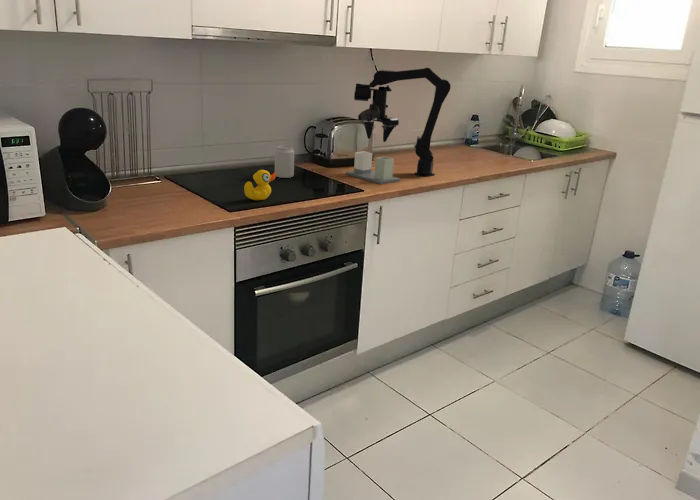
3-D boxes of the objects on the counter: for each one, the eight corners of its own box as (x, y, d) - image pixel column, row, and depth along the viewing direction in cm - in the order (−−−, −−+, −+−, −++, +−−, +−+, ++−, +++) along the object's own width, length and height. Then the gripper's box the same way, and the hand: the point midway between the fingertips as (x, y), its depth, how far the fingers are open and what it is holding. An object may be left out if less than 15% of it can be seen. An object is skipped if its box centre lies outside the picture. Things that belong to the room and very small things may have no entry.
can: (290, 180, 224) (291, 149, 220) (271, 178, 225) (272, 147, 221) (296, 176, 231) (296, 145, 227) (278, 174, 232) (278, 144, 228)
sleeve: (362, 170, 243) (363, 151, 240) (371, 172, 239) (372, 153, 237) (353, 171, 240) (355, 152, 237) (362, 174, 236) (363, 154, 233)
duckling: (271, 196, 200) (272, 167, 197) (279, 199, 196) (279, 170, 193) (241, 199, 194) (241, 169, 190) (248, 203, 190) (248, 173, 186)
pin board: (365, 171, 246) (366, 150, 243) (399, 181, 233) (401, 158, 229) (346, 174, 239) (347, 152, 236) (380, 184, 225) (382, 161, 222)
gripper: (349, 100, 240) (347, 138, 245) (381, 105, 227) (378, 145, 232) (368, 99, 247) (366, 136, 252) (401, 104, 234) (397, 143, 240)
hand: (376, 140), depth 244 cm, fingers open, 9 cm apart
